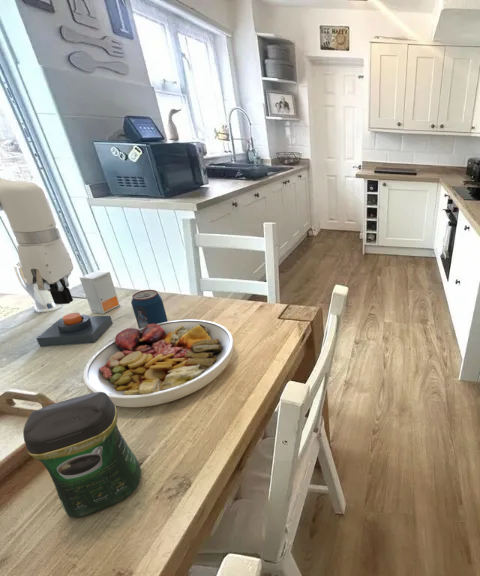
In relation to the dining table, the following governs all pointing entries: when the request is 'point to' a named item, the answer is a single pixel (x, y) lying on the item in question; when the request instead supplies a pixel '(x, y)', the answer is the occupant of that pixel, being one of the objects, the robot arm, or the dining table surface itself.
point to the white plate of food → (159, 362)
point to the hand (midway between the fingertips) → (64, 302)
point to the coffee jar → (83, 453)
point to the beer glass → (36, 293)
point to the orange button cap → (72, 318)
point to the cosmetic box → (100, 291)
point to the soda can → (148, 308)
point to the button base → (75, 331)
